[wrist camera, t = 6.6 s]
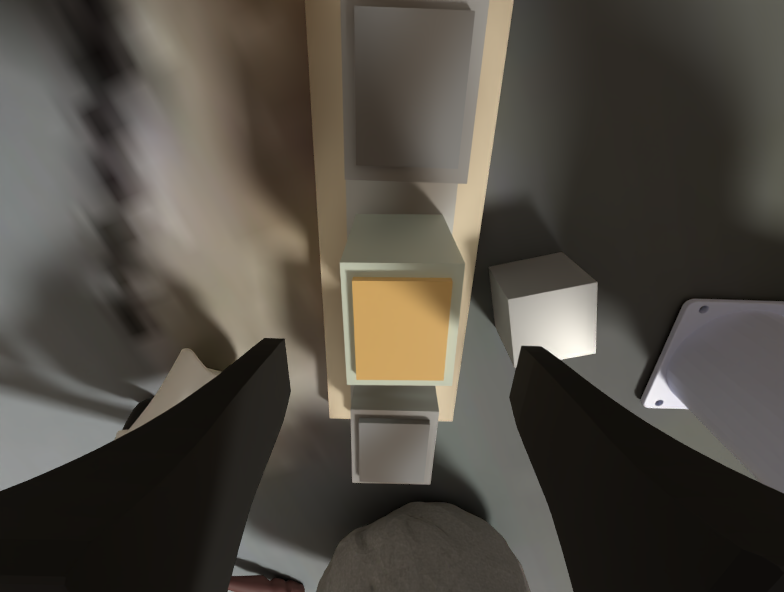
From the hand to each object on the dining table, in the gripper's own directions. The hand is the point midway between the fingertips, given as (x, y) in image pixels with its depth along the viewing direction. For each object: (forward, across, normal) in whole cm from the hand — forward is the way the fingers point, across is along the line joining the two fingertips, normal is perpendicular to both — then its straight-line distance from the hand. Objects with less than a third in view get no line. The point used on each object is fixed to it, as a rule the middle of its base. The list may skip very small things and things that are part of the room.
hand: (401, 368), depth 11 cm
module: (+8, 0, 0) cm, 8 cm away
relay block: (+10, -8, +2) cm, 13 cm away
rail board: (+10, 0, 0) cm, 10 cm away
